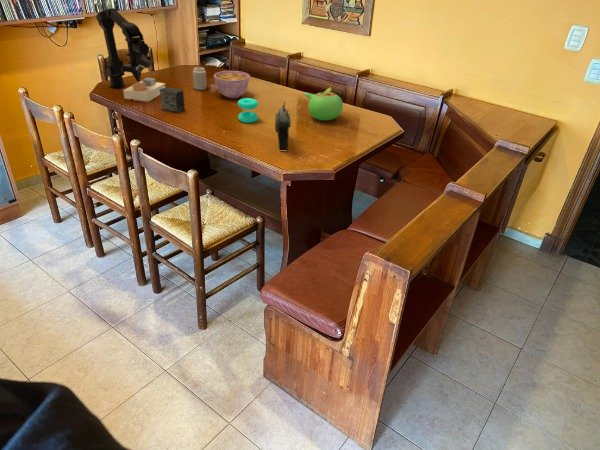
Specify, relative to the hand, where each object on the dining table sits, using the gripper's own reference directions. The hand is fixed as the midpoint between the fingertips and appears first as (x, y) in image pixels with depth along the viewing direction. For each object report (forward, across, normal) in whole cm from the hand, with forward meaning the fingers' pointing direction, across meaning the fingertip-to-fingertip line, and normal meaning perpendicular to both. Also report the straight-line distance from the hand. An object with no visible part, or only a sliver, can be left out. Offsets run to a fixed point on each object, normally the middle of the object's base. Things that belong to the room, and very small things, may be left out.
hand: (138, 81), depth 241 cm
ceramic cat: (+9, -34, -90) cm, 97 cm away
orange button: (+5, 0, 0) cm, 5 cm away
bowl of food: (+9, +22, -45) cm, 51 cm away
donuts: (+9, -11, -66) cm, 68 cm away
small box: (+9, -11, -25) cm, 29 cm away
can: (+9, +27, -23) cm, 37 cm away
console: (+9, +5, 0) cm, 10 cm away
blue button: (+5, +10, 0) cm, 11 cm away
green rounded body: (+9, +5, -102) cm, 103 cm away
